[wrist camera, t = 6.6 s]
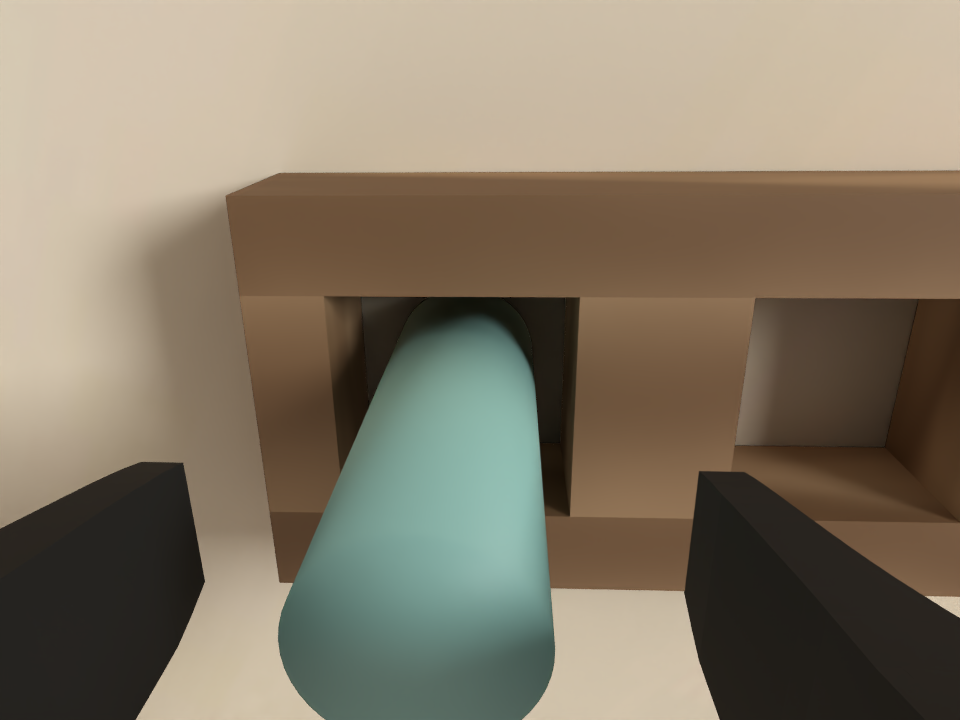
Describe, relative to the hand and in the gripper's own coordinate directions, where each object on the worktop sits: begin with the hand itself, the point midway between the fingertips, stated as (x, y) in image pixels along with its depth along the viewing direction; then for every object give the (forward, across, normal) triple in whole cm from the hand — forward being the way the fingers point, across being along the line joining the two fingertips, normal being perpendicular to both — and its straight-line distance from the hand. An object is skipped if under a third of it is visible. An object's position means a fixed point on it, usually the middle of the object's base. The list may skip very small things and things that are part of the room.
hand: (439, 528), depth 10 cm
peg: (+7, 0, 0) cm, 7 cm away
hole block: (+7, -4, 0) cm, 8 cm away
